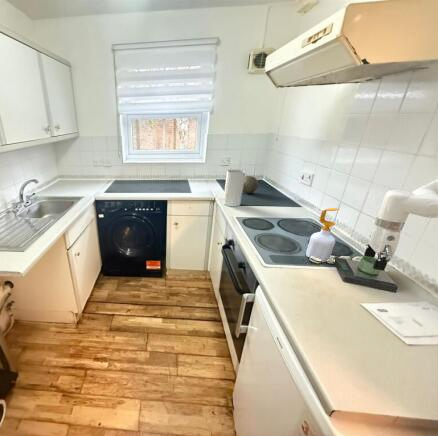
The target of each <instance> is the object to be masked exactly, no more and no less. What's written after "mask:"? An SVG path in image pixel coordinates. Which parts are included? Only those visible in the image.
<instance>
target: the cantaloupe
mask: <svg viewBox="0 0 438 436" xmlns="http://www.w3.org/2000/svg"><path fill="white" fill-rule="evenodd" d="M258 187H259V181H258V179H257V178H256V177H255V176H252V175H249V176H245V178H244V185H243V191H242V193H245V194H248V195H249V194H253V193H254V192H256V190H257V189H258Z"/></svg>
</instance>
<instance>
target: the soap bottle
mask: <svg viewBox="0 0 438 436" xmlns="http://www.w3.org/2000/svg"><path fill="white" fill-rule="evenodd" d="M338 210H339V207H329V208H326V209H323V210H322V211H321V213H320V216H319V220H318V221H319V223H320V224H323V226H322V227H321V229H320V231H318V232H317V231H316V232H313V233H312V234H311V236H310V238H309V242H308V245H307V248H306V252H305V255H306V257H307V258H308V257H311V256H314V257H316V258H319V259H321V260H322V262H321V263H327V262H328V261H327V260H328V259H329V258H330V259H331V255H332V253H333V250H334V248H335V245H336V238H335V237H334V236H333V235H332V234H331V230H332V229H331V228H330V227H333V226H335V225H336V222H333V221H329V220H328V219H327V220H326V214H327V212H336V211H338ZM330 259H329V260H330ZM326 261H327V262H326Z"/></svg>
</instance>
